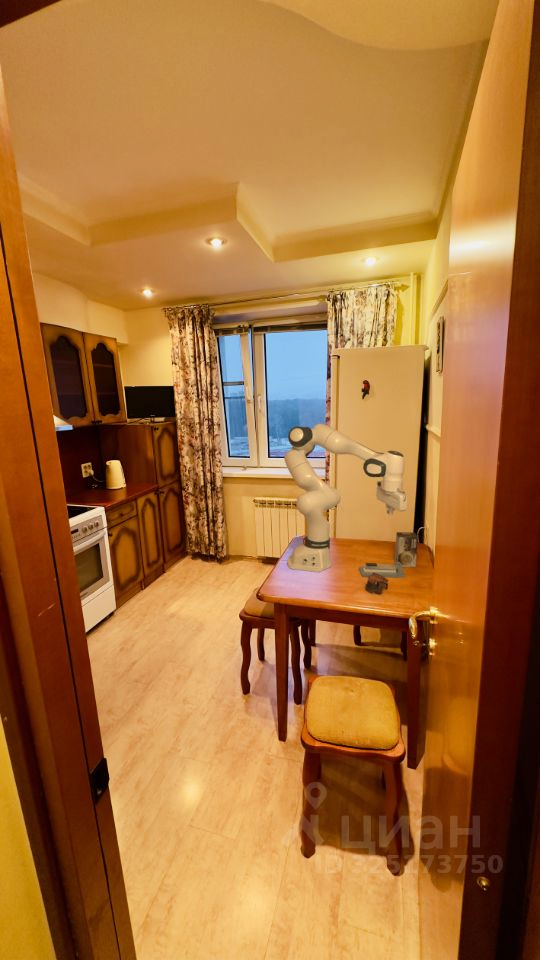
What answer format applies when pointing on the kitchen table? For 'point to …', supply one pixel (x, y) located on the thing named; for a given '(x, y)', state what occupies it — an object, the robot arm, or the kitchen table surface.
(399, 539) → the coffee box
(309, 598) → the kitchen table surface
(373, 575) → the pottery mug
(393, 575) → the base
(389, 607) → the kitchen table surface
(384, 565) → the arm
